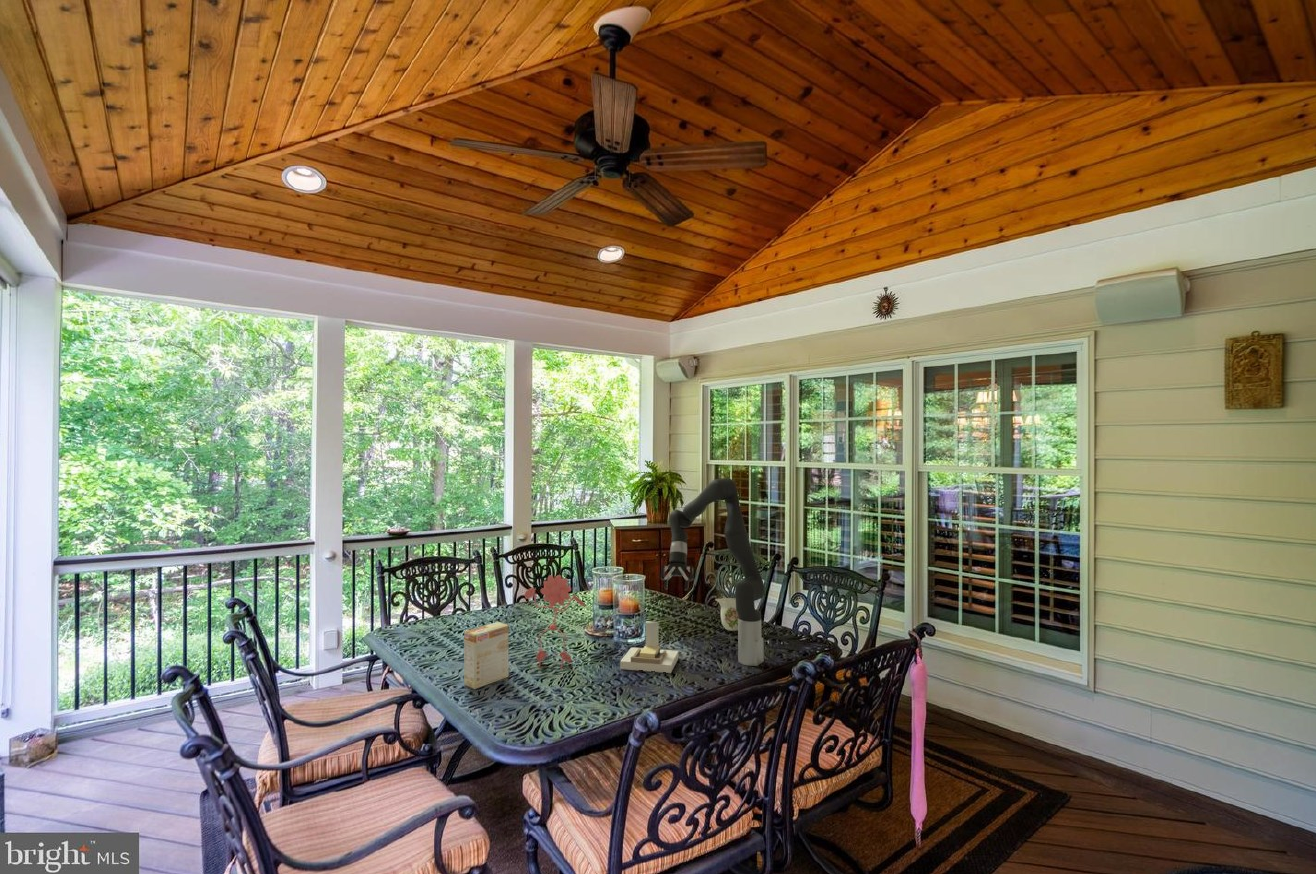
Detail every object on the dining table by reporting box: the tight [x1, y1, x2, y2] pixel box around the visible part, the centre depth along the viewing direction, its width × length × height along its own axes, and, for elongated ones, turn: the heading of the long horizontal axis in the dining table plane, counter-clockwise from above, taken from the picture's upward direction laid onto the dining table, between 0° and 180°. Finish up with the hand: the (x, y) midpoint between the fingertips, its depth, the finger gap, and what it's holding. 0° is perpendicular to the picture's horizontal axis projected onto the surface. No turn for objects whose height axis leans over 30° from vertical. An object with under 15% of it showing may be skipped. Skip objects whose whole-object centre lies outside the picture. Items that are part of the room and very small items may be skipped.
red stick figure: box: [524, 574, 586, 671], centre depth 235 cm, size 15×26×35 cm, turn 79°
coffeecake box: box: [463, 621, 510, 690], centre depth 216 cm, size 15×7×20 cm, turn 141°
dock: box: [619, 646, 680, 674], centre depth 232 cm, size 20×16×5 cm
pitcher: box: [715, 597, 738, 632], centre depth 277 cm, size 11×18×14 cm, turn 86°
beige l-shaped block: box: [639, 620, 661, 658], centre depth 232 cm, size 9×6×12 cm
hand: (675, 589), depth 252 cm, fingers open, 8 cm apart
